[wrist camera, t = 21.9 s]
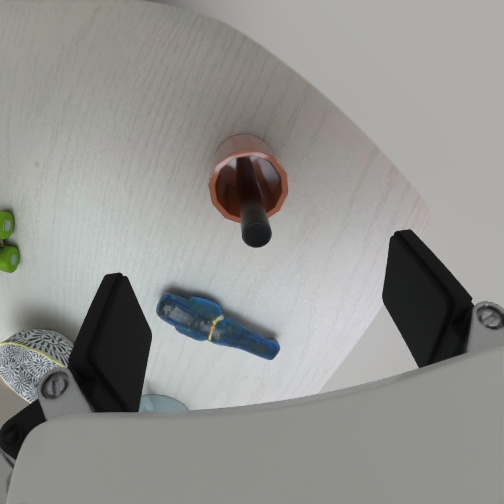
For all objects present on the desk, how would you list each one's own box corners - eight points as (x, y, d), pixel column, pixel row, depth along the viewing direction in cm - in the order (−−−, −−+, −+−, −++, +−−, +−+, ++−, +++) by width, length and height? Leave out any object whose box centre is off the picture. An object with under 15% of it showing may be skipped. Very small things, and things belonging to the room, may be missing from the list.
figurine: (282, 327, 38) (169, 274, 33) (291, 342, 34) (168, 286, 30) (262, 357, 38) (151, 309, 34) (269, 374, 35) (148, 324, 30)
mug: (193, 422, 48) (191, 472, 39) (143, 421, 48) (136, 469, 39) (174, 377, 41) (167, 438, 32) (115, 376, 41) (101, 433, 32)
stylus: (234, 158, 26) (240, 224, 15) (251, 156, 26) (270, 219, 15) (237, 174, 27) (244, 250, 16) (253, 172, 27) (273, 246, 16)
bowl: (126, 352, 38) (115, 397, 31) (84, 391, 43) (73, 428, 36) (28, 283, 31) (0, 322, 25) (5, 339, 36) (-14, 373, 30)
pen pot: (209, 138, 25) (203, 157, 19) (270, 130, 25) (283, 145, 19) (219, 194, 28) (216, 228, 22) (276, 186, 28) (290, 218, 22)
